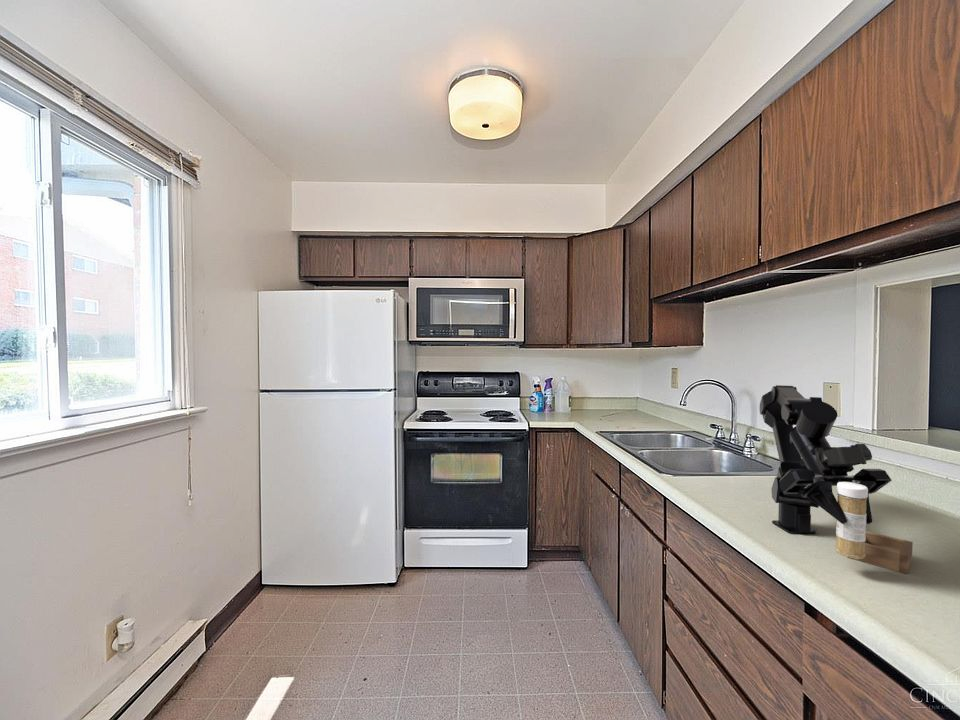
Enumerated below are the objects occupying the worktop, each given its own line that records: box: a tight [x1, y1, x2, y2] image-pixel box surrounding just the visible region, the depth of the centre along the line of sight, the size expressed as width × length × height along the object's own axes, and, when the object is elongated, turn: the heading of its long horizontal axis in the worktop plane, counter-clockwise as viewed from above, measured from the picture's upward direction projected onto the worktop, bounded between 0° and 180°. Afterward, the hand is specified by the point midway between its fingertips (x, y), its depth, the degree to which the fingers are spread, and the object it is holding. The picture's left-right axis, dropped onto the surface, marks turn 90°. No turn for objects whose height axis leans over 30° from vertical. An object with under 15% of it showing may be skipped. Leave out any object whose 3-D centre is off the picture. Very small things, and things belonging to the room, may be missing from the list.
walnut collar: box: [847, 530, 914, 575], centre depth 92 cm, size 9×9×4 cm
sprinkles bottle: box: [834, 482, 868, 560], centre depth 85 cm, size 5×5×14 cm
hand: (857, 523), depth 84 cm, fingers closed on sprinkles bottle, 4 cm apart
